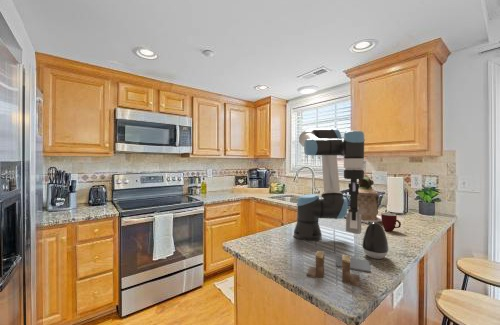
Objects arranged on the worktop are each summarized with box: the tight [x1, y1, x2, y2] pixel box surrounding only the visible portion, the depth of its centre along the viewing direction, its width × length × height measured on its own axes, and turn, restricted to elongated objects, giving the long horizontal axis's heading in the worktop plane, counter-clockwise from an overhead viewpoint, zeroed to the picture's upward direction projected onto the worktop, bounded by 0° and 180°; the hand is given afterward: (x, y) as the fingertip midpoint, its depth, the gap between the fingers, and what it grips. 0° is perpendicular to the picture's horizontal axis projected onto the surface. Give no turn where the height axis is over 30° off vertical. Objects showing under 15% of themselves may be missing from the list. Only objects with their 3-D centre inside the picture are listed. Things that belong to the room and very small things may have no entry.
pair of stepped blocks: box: [306, 250, 361, 287], centre depth 85 cm, size 18×7×8 cm, turn 67°
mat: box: [336, 256, 372, 273], centre depth 95 cm, size 12×10×1 cm
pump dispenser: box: [361, 221, 389, 260], centre depth 104 cm, size 10×10×15 cm
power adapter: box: [345, 207, 362, 235], centre depth 95 cm, size 3×5×12 cm, turn 40°
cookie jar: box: [344, 176, 382, 225], centre depth 175 cm, size 25×25×32 cm
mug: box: [380, 212, 402, 232], centre depth 143 cm, size 11×8×10 cm
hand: (353, 226), depth 95 cm, fingers closed on power adapter, 5 cm apart
